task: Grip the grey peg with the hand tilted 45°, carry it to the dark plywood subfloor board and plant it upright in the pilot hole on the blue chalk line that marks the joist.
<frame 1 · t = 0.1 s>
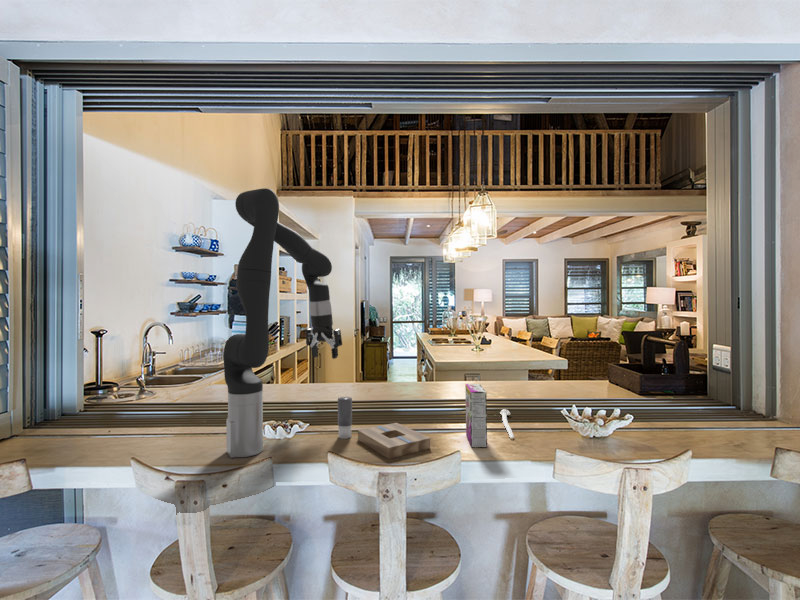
hand: (325, 357, 148), 22 cm above the counter, tool pointing down, fingers open, 8 cm apart
grey peg: (345, 436, 129), on the counter
candy bar box: (475, 442, 124), on the counter
subfloor board: (393, 444, 122), on the counter
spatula: (509, 428, 139), on the counter
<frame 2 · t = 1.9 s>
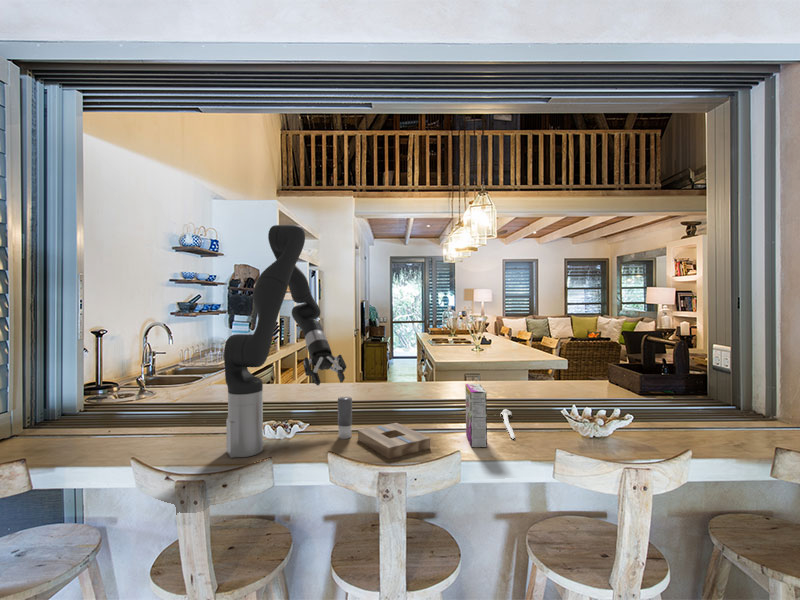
hand: (330, 382, 138), 15 cm above the counter, tool tilted 45°, fingers open, 8 cm apart
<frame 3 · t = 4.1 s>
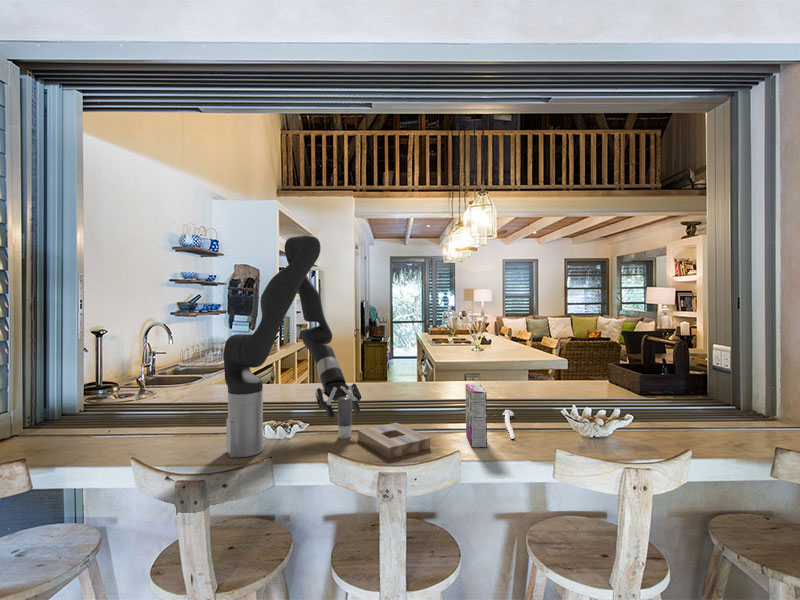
hand: (345, 415, 129), 7 cm above the counter, tool tilted 45°, fingers open, 8 cm apart
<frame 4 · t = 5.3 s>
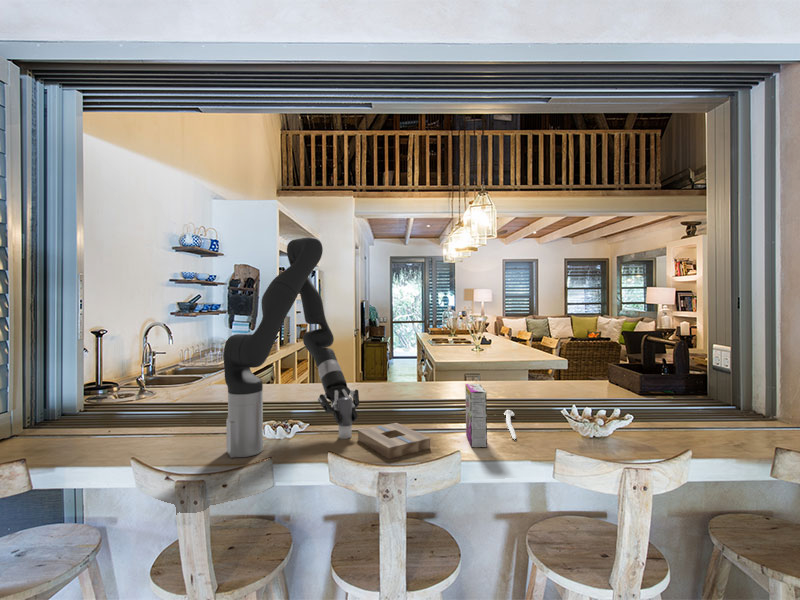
hand: (347, 421, 127), 5 cm above the counter, tool tilted 45°, fingers closed on grey peg, 4 cm apart
grey peg: (345, 436, 129), on the counter, touching gripper
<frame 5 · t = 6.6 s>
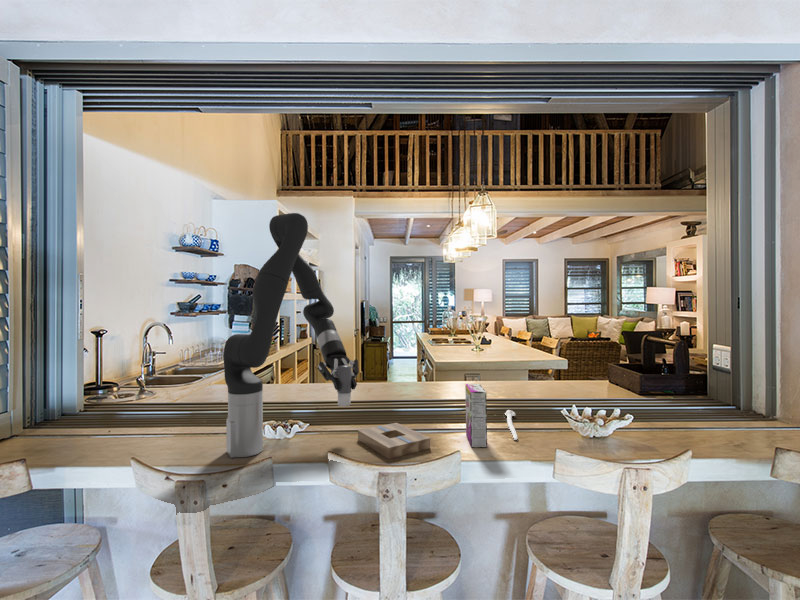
hand: (347, 388, 127), 15 cm above the counter, tool tilted 45°, fingers closed on grey peg, 4 cm apart
grey peg: (344, 404, 129), point 10 cm above the counter, touching gripper
when the fingers open (9 cm above the counter, at t = 10.6 s): grey peg drops 3 cm, resting in subfloor board.
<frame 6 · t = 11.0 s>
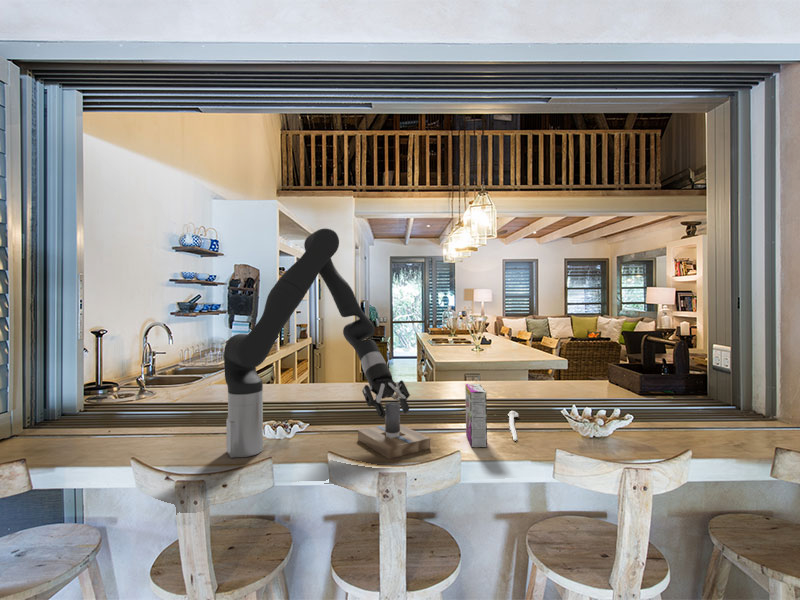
hand: (395, 414, 121), 9 cm above the counter, tool tilted 45°, fingers open, 7 cm apart
grey peg: (392, 444, 122), resting in subfloor board
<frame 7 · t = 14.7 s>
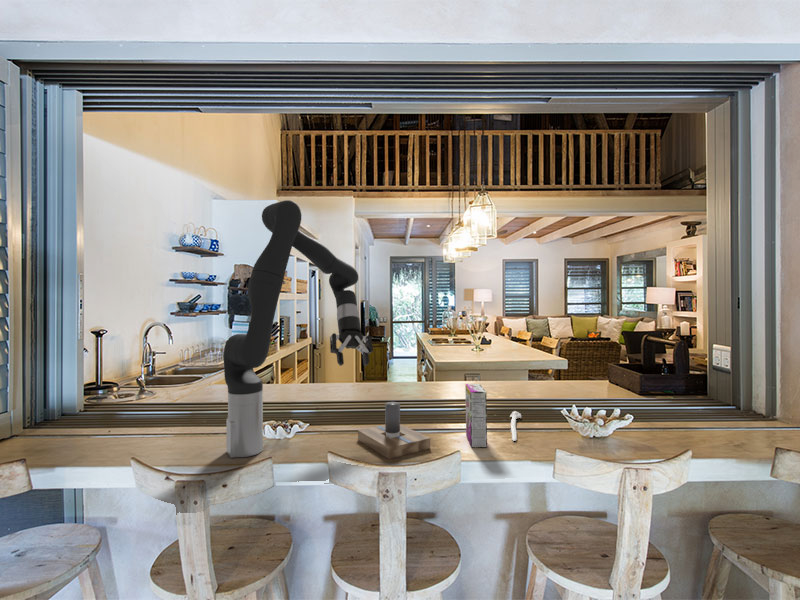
hand: (354, 365, 133), 22 cm above the counter, tool tilted 30°, fingers open, 8 cm apart
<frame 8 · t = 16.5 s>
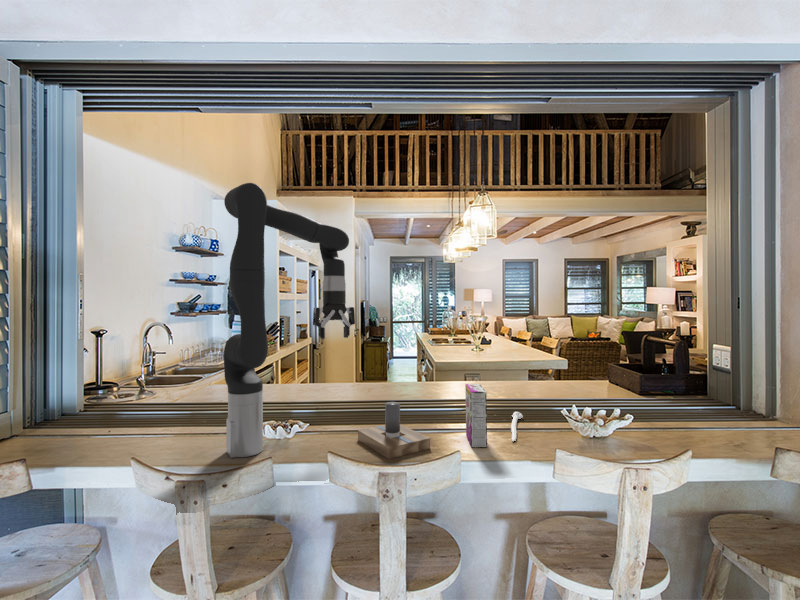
hand: (334, 338, 138), 30 cm above the counter, tool pointing down, fingers open, 8 cm apart
at the end: grey peg 0.1 cm off-centre on the subfloor board, point 0.0 cm above the subfloor board's base; grey peg tilted 0°; the gripper is holding nothing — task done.
